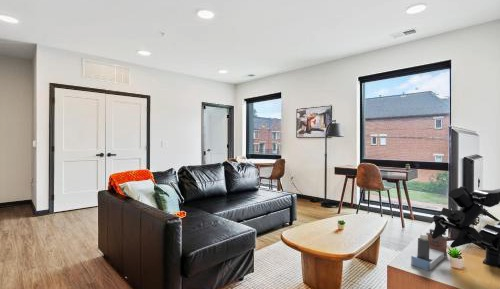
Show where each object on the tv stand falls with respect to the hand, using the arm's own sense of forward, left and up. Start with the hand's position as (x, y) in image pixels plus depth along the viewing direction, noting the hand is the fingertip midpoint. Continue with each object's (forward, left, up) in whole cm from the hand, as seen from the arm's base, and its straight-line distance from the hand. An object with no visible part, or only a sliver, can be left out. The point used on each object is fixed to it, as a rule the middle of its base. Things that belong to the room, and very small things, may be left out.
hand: (441, 242), depth 108 cm
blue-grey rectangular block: (0, -4, -9) cm, 10 cm away
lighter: (-14, -6, -9) cm, 18 cm away
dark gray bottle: (+6, -4, -9) cm, 12 cm away
